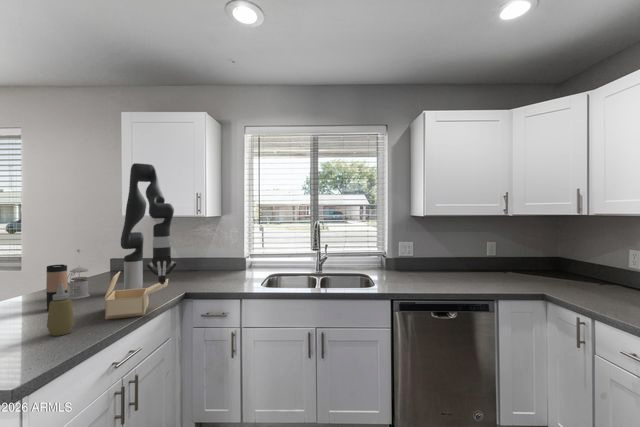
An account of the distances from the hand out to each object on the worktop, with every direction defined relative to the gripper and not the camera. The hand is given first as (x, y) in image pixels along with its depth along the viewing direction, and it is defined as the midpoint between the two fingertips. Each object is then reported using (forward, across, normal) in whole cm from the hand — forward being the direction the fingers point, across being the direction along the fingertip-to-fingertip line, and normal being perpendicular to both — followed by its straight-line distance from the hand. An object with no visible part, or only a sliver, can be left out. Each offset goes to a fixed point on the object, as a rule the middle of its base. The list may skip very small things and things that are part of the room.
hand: (162, 283), depth 157 cm
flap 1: (+3, +21, 0) cm, 22 cm away
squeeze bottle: (+12, +33, +22) cm, 41 cm away
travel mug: (+11, +45, -17) cm, 49 cm away
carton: (+11, +14, 0) cm, 18 cm away
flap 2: (+3, +6, 0) cm, 7 cm away
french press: (+11, +43, -42) cm, 61 cm away
